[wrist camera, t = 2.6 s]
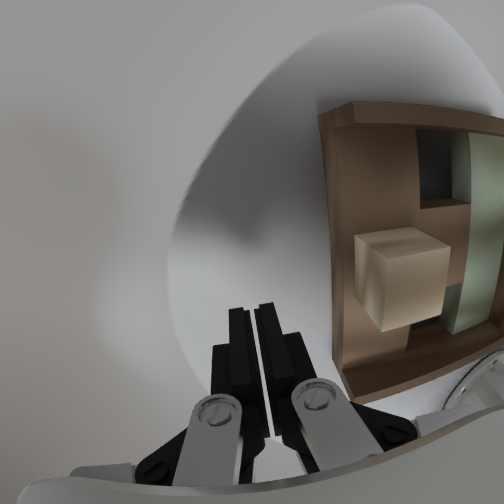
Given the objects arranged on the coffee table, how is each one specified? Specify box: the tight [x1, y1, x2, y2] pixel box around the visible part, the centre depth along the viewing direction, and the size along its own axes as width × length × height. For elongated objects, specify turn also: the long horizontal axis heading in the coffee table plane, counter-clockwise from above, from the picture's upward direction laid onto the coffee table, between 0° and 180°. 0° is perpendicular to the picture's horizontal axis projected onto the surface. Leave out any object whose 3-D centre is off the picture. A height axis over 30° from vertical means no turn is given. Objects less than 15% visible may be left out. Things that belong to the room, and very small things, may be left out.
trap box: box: [318, 101, 504, 405], centre depth 16 cm, size 18×16×6 cm
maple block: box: [354, 227, 451, 332], centre depth 14 cm, size 4×4×4 cm
